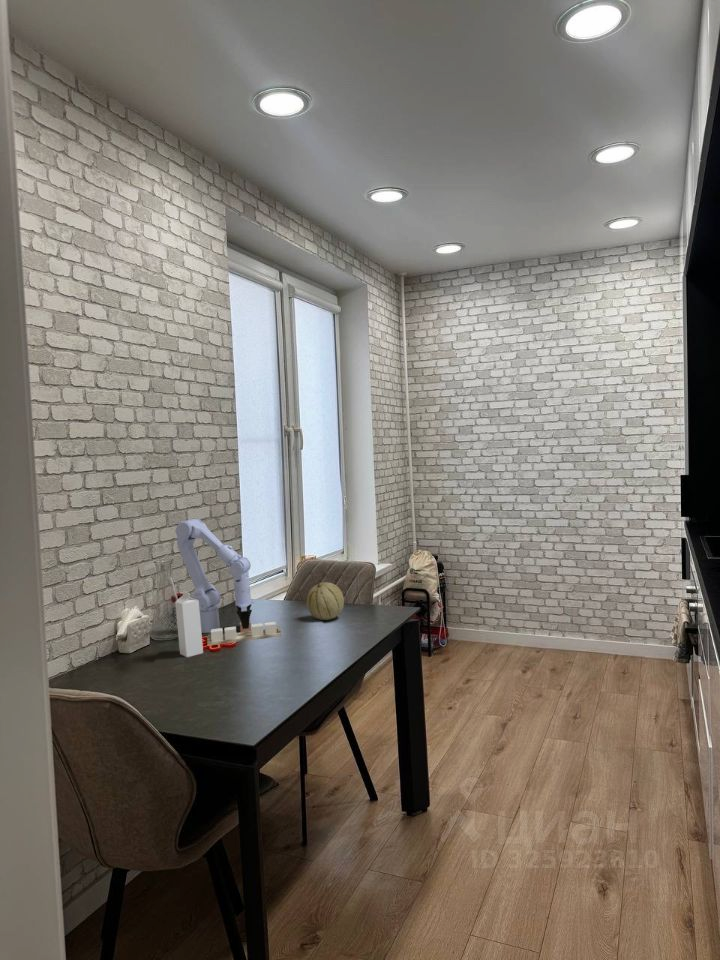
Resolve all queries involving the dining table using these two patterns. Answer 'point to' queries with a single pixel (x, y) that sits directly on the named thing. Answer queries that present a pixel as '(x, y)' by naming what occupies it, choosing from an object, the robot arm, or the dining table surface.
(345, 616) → the dining table surface
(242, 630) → the block terracotta
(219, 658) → the dining table surface
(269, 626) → the cream block
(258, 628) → the cream block
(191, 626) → the milk
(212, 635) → the cream block
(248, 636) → the rack
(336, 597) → the cantaloupe
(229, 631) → the cream block
